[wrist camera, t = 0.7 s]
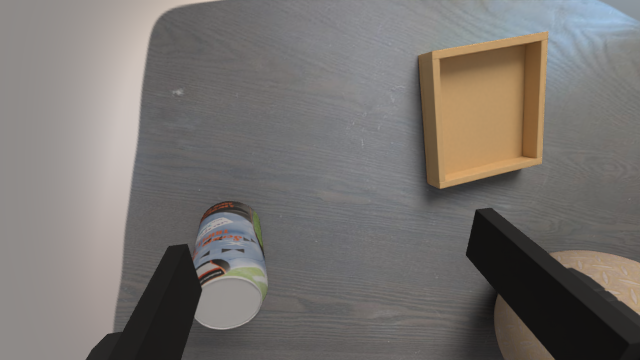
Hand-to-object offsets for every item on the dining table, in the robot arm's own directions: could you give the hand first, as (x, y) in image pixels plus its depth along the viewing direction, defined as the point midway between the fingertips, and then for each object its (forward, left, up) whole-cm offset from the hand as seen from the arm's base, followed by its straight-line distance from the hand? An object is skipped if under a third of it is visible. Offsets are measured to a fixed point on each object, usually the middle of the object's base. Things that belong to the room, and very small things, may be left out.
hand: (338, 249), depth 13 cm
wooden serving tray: (-2, +22, -19) cm, 29 cm away
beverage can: (+5, -8, -19) cm, 21 cm away
